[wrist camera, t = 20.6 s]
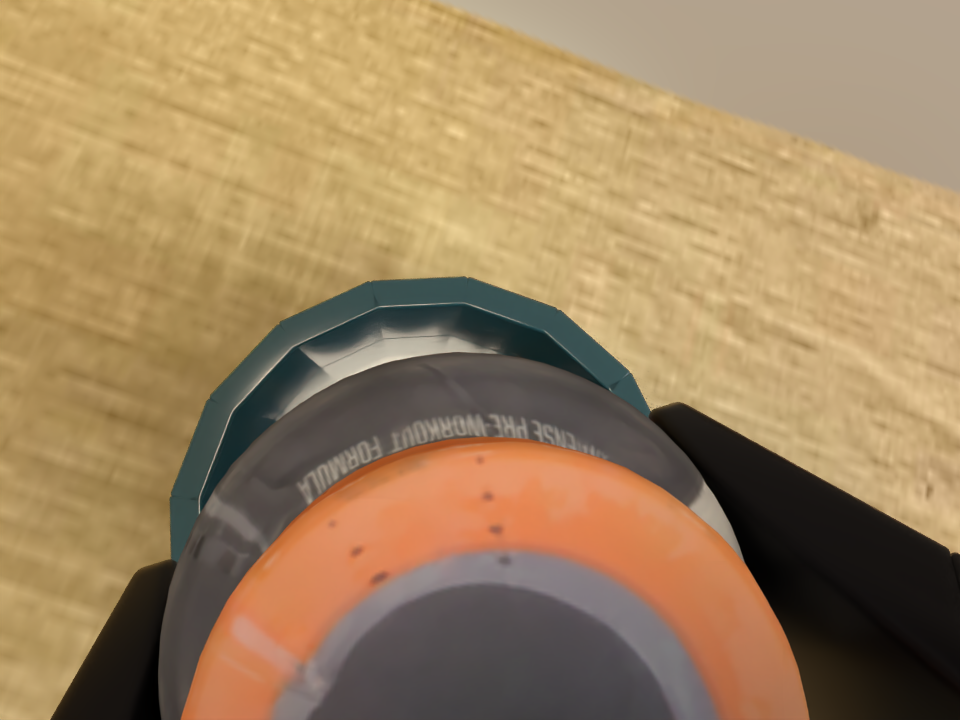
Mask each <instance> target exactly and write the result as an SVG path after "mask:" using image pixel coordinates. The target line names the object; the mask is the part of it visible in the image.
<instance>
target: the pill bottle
mask: <svg viewBox="0 0 960 720" xmlns="http://www.w3.org/2000/svg"><path fill="white" fill-rule="evenodd" d="M158 686H159V706H160V714H161V720H809V713H808V708H807V703H806V698H805V694H804V690H803V686H802V682H801V677H800V673H799V669H798V666H797V663H796V660H795V658H794V655H793V652H792V650H791V647H790V645H789V642H788V639H787V637H786V635H785V633H784V631H783V629H782V626H781V625H780V623H779V621H778V619H777V617H776V616H775V614H774V612H773V610H772V608H771V607H770V605H769V603H768V601H767V599H766V598H765V596H764V594H763V592H762V591H761V589H760V587H759V586H758V584H757V582H756V581H755V579H754V577H753V576H752V574H751V572H750V571H749V569H748V567H747V566H746V564H745V562H744V559H743V556H742V552H741V549H740V546H739V544H738V541H737V539H736V536H735V534H734V531H733V529H732V527H731V524H730V522H729V520H728V519H727V517H726V515H725V513H724V511H723V510H722V508H721V506H720V504H719V503H718V501H717V499H716V497H715V496H714V494H713V493H712V491H711V490H710V489H709V487H708V486H707V485H706V483H705V481H704V479H703V477H702V475H701V474H700V472H699V471H698V470H697V468H696V467H695V466H694V464H693V463H692V462H691V460H690V459H689V458H688V456H687V455H686V454H685V453H684V452H683V451H682V450H681V449H680V448H679V447H678V446H677V445H676V444H675V443H674V442H673V441H672V440H671V439H670V438H669V437H668V435H667V434H666V433H665V432H664V431H663V430H662V429H661V428H660V427H659V426H657V425H656V424H655V423H654V422H652V421H651V420H650V419H649V418H647V417H646V416H645V415H644V414H642V413H641V412H640V411H639V410H637V409H636V408H635V407H634V406H633V405H631V404H629V403H628V402H626V401H625V400H623V399H621V398H620V397H618V396H617V395H615V394H613V393H612V392H610V391H608V390H606V389H604V388H602V387H601V386H599V385H597V384H595V383H593V382H591V381H589V380H587V379H585V378H583V377H580V376H578V375H575V374H573V373H570V372H568V371H566V370H563V369H560V368H557V367H554V366H551V365H548V364H545V363H542V362H537V361H533V360H529V359H525V358H519V357H513V356H507V355H500V354H489V353H469V352H451V353H439V354H432V355H424V356H418V357H411V358H406V359H400V360H395V361H391V362H387V363H384V364H381V365H378V366H375V367H372V368H369V369H367V370H364V371H362V372H359V373H356V374H354V375H351V376H349V377H346V378H343V379H341V380H340V381H338V382H336V383H334V384H332V385H330V386H329V387H327V388H325V389H323V390H321V391H319V392H318V393H316V394H314V395H313V396H311V397H310V398H308V399H307V400H305V401H304V402H302V403H300V404H299V405H297V406H296V407H295V408H293V409H292V410H291V411H289V412H288V413H287V414H286V415H284V416H283V417H282V418H280V419H279V420H278V421H276V422H275V423H274V424H272V425H271V426H270V427H269V428H267V429H266V430H265V431H264V432H263V433H262V434H261V435H260V436H259V437H258V438H256V439H255V440H254V441H253V442H252V443H251V445H250V446H249V447H248V448H247V450H246V451H245V452H244V453H243V454H242V455H241V456H240V457H239V458H238V459H237V460H236V461H235V462H234V463H233V464H232V465H231V466H230V468H229V469H228V471H227V473H226V474H225V475H224V477H223V478H222V479H221V480H220V482H219V483H218V484H217V486H216V487H215V489H214V491H213V493H212V494H211V496H210V498H209V500H208V501H207V503H206V505H205V506H204V508H203V509H202V511H201V513H200V514H199V516H198V517H197V519H196V521H195V523H194V526H193V528H192V530H191V533H190V535H189V537H188V540H187V542H186V544H185V547H184V549H183V551H182V553H181V556H180V558H179V560H178V563H177V566H176V569H175V572H174V575H173V578H172V581H171V584H170V587H169V592H168V598H167V603H166V608H165V612H164V616H163V622H162V629H161V635H160V650H159V666H158Z"/></svg>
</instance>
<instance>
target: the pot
mask: <svg viewBox="0 0 960 720" xmlns="http://www.w3.org/2000/svg"><path fill="white" fill-rule="evenodd" d="M451 352H469V353H489V354H500V355H507V356H513V357H519V358H525V359H529V360H533V361H537V362H542V363H545V364H548V365H551V366H554V367H557V368H560V369H563V370H566V371H568V372H570V373H573V374H575V375H578V376H580V377H583V378H585V379H587V380H589V381H591V382H593V383H595V384H597V385H599V386H601V387H602V388H604V389H606V390H608V391H610V392H612V393H613V394H615V395H617V396H618V397H620V398H621V399H623V400H625V401H626V402H628V403H629V404H631V405H633V406H634V407H635V408H636V409H637V410H639V411H640V412H641V413H642V414H644V415H645V416H646V417H647V418H648V417H649V414H650V412H651V411H650V409H649V407H648V405H647V403H646V401H645V399H644V397H643V395H642V393H641V391H640V389H639V387H638V385H637V383H636V381H635V379H634V377H633V375H632V374H631V373H629V370H628V369H627V368H625V367H624V366H623V365H622V364H621V363H620V362H619V361H617V360H616V359H615V358H614V357H613V356H612V355H611V354H610V353H608V352H607V351H606V350H605V349H604V348H603V347H602V346H601V345H599V344H598V343H597V342H596V341H595V340H594V339H593V338H592V337H590V336H589V335H588V334H587V333H586V332H585V331H584V330H582V329H581V328H580V327H579V326H578V325H577V324H576V323H575V322H573V321H572V320H571V319H570V318H569V317H568V316H567V315H566V314H564V313H563V312H562V311H561V310H557V308H556V307H553V306H550V305H547V304H545V303H542V302H539V301H536V300H533V299H530V298H528V297H525V296H522V295H519V294H516V293H514V292H511V291H508V290H505V289H502V288H499V287H497V286H494V285H491V284H488V283H485V282H483V281H480V280H477V279H474V278H471V277H468V278H467V277H465V276H462V277H439V278H417V279H395V280H373V281H371V282H370V281H367V282H365V283H363V284H361V285H359V286H357V287H354V288H352V289H350V290H348V291H346V292H343V293H341V294H339V295H337V296H335V297H333V298H330V299H328V300H326V301H324V302H322V303H319V304H317V305H315V306H313V307H311V308H309V309H306V310H304V311H302V312H300V313H298V314H295V315H293V316H291V317H289V318H287V319H284V320H282V321H280V323H279V324H278V325H276V326H275V327H274V328H273V329H272V330H271V331H270V332H269V333H268V334H267V335H266V336H265V337H264V338H263V340H262V341H261V342H260V343H259V344H258V345H257V346H256V347H255V348H254V349H253V350H252V351H251V352H250V353H249V354H248V355H247V357H246V358H245V359H244V360H243V361H242V362H241V363H240V364H239V365H238V366H237V367H236V368H235V369H234V370H233V371H232V372H231V373H230V375H229V376H228V377H227V378H226V379H225V380H224V381H223V382H222V383H221V384H220V385H219V386H218V387H217V388H216V389H215V390H214V391H213V393H212V394H211V395H210V397H209V398H210V399H208V400H207V401H206V403H205V406H204V408H203V411H202V413H201V416H200V419H199V421H198V424H197V426H196V429H195V432H194V434H193V437H192V439H191V442H190V444H189V447H188V450H187V452H186V455H185V457H184V460H183V463H182V465H181V468H180V470H179V473H178V475H177V478H176V481H175V483H174V486H173V488H172V491H171V497H170V499H169V501H170V540H171V560H174V561H176V562H177V563H178V560H179V558H180V556H181V553H182V551H183V549H184V547H185V544H186V542H187V540H188V537H189V535H190V533H191V530H192V528H193V526H194V523H195V521H196V519H197V517H198V516H199V514H200V513H201V511H202V509H203V508H204V506H205V505H206V503H207V501H208V500H209V498H210V496H211V494H212V493H213V491H214V489H215V487H216V486H217V484H218V483H219V482H220V480H221V479H222V478H223V477H224V475H225V474H226V473H227V471H228V469H229V468H230V466H231V465H232V464H233V463H234V462H235V461H236V460H237V459H238V458H239V457H240V456H241V455H242V454H243V453H244V452H245V451H246V450H247V448H248V447H249V446H250V445H251V443H252V442H253V441H254V440H255V439H256V438H258V437H259V436H260V435H261V434H262V433H263V432H264V431H265V430H266V429H267V428H269V427H270V426H271V425H272V424H274V423H275V422H276V421H278V420H279V419H280V418H282V417H283V416H284V415H286V414H287V413H288V412H289V411H291V410H292V409H293V408H295V407H296V406H297V405H299V404H300V403H302V402H304V401H305V400H307V399H308V398H310V397H311V396H313V395H314V394H316V393H318V392H319V391H321V390H323V389H325V388H327V387H329V386H330V385H332V384H334V383H336V382H338V381H340V380H341V379H343V378H346V377H349V376H351V375H354V374H356V373H359V372H362V371H364V370H367V369H369V368H372V367H375V366H378V365H381V364H384V363H387V362H391V361H395V360H400V359H406V358H411V357H418V356H424V355H432V354H439V353H451Z"/></svg>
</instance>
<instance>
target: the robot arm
mask: <svg viewBox="0 0 960 720" xmlns="http://www.w3.org/2000/svg"><path fill="white" fill-rule="evenodd" d="M648 418H649V419H650V420H651V421H652V422H654V423H655V424H656V425H657V426H659V427H660V428H661V429H662V430H663V431H664V432H665V433H666V434H667V435H668V437H669V438H670V439H671V440H672V441H673V442H674V443H675V444H676V445H677V446H678V447H679V448H680V449H681V450H682V451H683V452H684V453H685V454H686V455H687V456H688V458H689V459H690V460H691V462H692V463H693V464H694V466H695V467H696V468H697V470H698V471H699V472H700V474H701V475H702V477H703V479H704V481H705V483H706V485H707V486H708V487H709V489H710V490H711V491H712V493H713V494H714V496H715V497H716V499H717V501H718V503H719V504H720V506H721V508H722V510H723V511H724V513H725V515H726V517H727V519H728V520H729V522H730V524H731V527H732V529H733V531H734V534H735V536H736V539H737V541H738V544H739V546H740V549H741V552H742V556H743V559H744V562H745V564H746V566H747V567H748V569H749V571H750V572H751V574H752V576H753V577H754V579H755V581H756V582H757V584H758V586H759V587H760V589H761V591H762V592H763V594H764V596H765V598H766V599H767V601H768V603H769V605H770V607H771V608H772V610H773V612H774V614H775V616H776V617H777V619H778V621H779V623H780V625H781V626H782V629H783V631H784V633H785V635H786V637H787V639H788V642H789V645H790V647H791V650H792V652H793V655H794V658H795V660H796V663H797V666H798V669H799V673H800V677H801V682H802V686H803V690H804V694H805V698H806V703H807V708H808V713H809V720H960V554H958V553H951V554H950V551H949V549H948V548H946V547H945V546H943V545H941V544H939V543H937V542H936V541H934V540H932V539H930V538H928V537H926V536H925V535H923V534H921V533H919V532H917V531H916V530H914V529H912V528H910V527H908V526H906V525H905V524H903V523H901V522H899V521H897V520H896V519H894V518H892V517H890V516H888V515H886V514H885V513H883V512H881V511H879V510H877V509H876V508H874V507H872V506H870V505H868V504H866V503H865V502H863V501H861V500H859V499H857V498H856V497H854V496H852V495H850V494H848V493H846V492H845V491H843V490H841V489H839V488H837V487H836V486H834V485H832V484H830V483H828V482H826V481H825V480H823V479H821V478H819V477H817V476H816V475H814V474H812V473H810V472H808V471H806V470H805V469H803V468H801V467H799V466H797V465H796V464H794V463H792V462H790V461H788V460H786V459H785V458H783V457H781V456H779V455H777V454H775V453H774V452H772V451H770V450H768V449H766V448H765V447H763V446H761V445H759V444H757V443H755V442H754V441H752V440H750V439H748V438H746V437H745V436H743V435H741V434H739V433H737V432H735V431H734V430H732V429H730V428H728V427H726V426H725V425H723V424H721V423H719V422H717V421H715V420H714V419H712V418H710V417H708V416H706V415H705V414H703V413H701V412H699V411H697V410H695V409H694V408H692V407H690V406H688V405H686V404H684V403H680V402H676V403H672V404H669V405H666V406H662V407H659V408H656V409H653V410H652V411H651V412H650V414H649V417H648ZM176 566H177V562H176V561H174V560H165V561H162V562H159V563H156V564H153V565H149V566H146V567H143V568H141V569H139V570H138V571H137V572H136V573H135V574H134V576H133V577H132V579H131V580H130V582H129V584H128V586H127V587H126V589H125V591H124V593H123V594H122V596H121V598H120V600H119V601H118V603H117V605H116V606H115V608H114V610H113V612H112V613H111V615H110V617H109V619H108V620H107V622H106V624H105V626H104V627H103V629H102V631H101V633H100V634H99V636H98V638H97V639H96V641H95V643H94V645H93V646H92V648H91V650H90V652H89V653H88V655H87V657H86V659H85V660H84V662H83V664H82V665H81V667H80V669H79V671H78V672H77V674H76V676H75V678H74V679H73V681H72V683H71V685H70V686H69V688H68V690H67V691H66V693H65V695H64V697H63V698H62V700H61V702H60V704H59V705H58V707H57V709H56V711H55V712H54V714H53V716H52V718H51V719H50V720H161V714H160V706H159V686H158V666H159V650H160V635H161V629H162V622H163V616H164V612H165V608H166V603H167V598H168V592H169V587H170V584H171V581H172V578H173V575H174V572H175V569H176Z"/></svg>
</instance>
